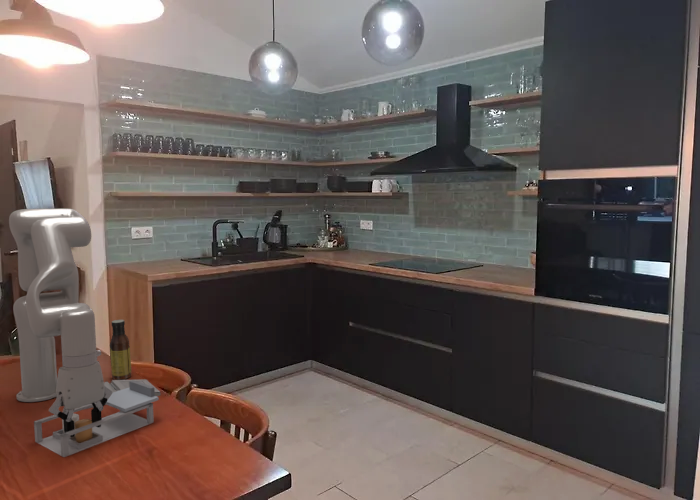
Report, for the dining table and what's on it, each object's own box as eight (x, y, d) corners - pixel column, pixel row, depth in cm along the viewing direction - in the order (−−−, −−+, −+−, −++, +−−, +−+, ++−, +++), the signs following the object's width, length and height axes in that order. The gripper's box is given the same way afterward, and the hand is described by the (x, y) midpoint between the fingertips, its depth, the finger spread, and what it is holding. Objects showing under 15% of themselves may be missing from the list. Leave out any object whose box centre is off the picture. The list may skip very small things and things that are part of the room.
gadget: (80, 415, 154) (80, 402, 154) (70, 399, 166) (69, 387, 165) (161, 397, 168) (160, 385, 167) (146, 383, 180) (145, 373, 179)
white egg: (60, 436, 137) (59, 417, 137) (75, 431, 140) (74, 412, 140) (67, 440, 135) (66, 420, 135) (82, 434, 138) (81, 415, 138)
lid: (96, 400, 147) (95, 389, 146) (130, 389, 155) (129, 378, 154) (124, 411, 139) (124, 399, 139) (158, 399, 147) (158, 388, 147)
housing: (35, 444, 134) (33, 421, 134) (124, 413, 154) (123, 392, 153) (64, 460, 126) (62, 435, 126) (153, 425, 146) (152, 403, 145)
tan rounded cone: (72, 442, 134) (71, 422, 133) (87, 436, 137) (86, 417, 136) (80, 446, 132) (79, 426, 131) (95, 440, 135) (94, 421, 134)
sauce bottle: (121, 373, 188) (118, 317, 186) (135, 375, 186) (133, 319, 184) (106, 379, 182) (104, 321, 180) (121, 382, 180) (119, 323, 178)
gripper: (104, 349, 141) (107, 415, 143) (35, 365, 127) (39, 439, 129) (121, 353, 137) (124, 422, 139) (51, 371, 123) (55, 447, 125)
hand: (83, 429), depth 134 cm, fingers open, 6 cm apart
